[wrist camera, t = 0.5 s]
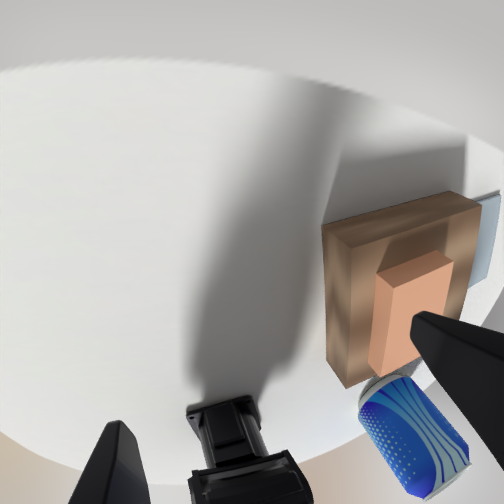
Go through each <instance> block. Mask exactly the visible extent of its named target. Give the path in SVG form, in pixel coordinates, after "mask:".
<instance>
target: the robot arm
mask: <svg viewBox="0 0 504 504" xmlns="http://www.w3.org/2000/svg"><path fill="white" fill-rule="evenodd" d="M410 339H411V341H412V343H413V344H414V346H415V348H416V349H417V351H418V352H419V354H420V355H421V357H422V358H423V360H424V362H425V363H426V365H427V366H428V368H429V370H430V371H431V373H432V374H433V376H434V377H435V378H436V380H437V381H438V382H439V383H440V385H441V386H442V387H443V388H444V390H445V391H446V392H447V394H448V395H449V396H450V397H451V399H452V400H453V401H454V403H455V404H456V405H457V406H458V408H459V409H460V411H461V412H462V413H463V415H464V416H465V417H466V418H467V420H468V421H469V422H470V424H471V425H472V427H473V428H474V429H475V431H476V432H477V433H478V435H479V436H480V438H481V439H482V440H483V442H484V443H485V444H486V446H487V447H488V449H489V450H490V452H491V453H492V454H493V455H494V457H495V459H496V460H497V462H498V463H499V465H500V466H501V468H502V469H503V471H504V334H503V333H500V332H497V331H493V330H490V329H487V328H483V327H480V326H476V325H473V324H469V323H466V322H462V321H459V320H456V319H452V318H449V317H445V316H442V315H439V314H435V313H432V312H428V311H421V312H419V313H417V314H415V315H414V316H413V317H412V322H411V329H410ZM186 418H187V420H188V422H189V424H190V425H191V427H192V429H193V430H194V432H195V434H196V435H197V437H198V438H199V440H200V441H201V445H202V449H203V453H204V457H205V461H206V465H207V468H208V469H204V470H192V475H193V476H192V477H191V478H189V479H188V485H189V489H190V494H191V501H192V504H314V500H313V495H312V492H311V488H310V486H309V484H308V481H307V479H306V478H305V476H304V475H303V473H302V471H301V470H300V468H299V467H298V465H297V464H296V462H295V461H294V459H293V457H292V456H291V454H290V453H289V451H288V450H283V451H281V452H279V453H276V454H272V455H269V454H268V451H267V449H266V446H265V444H264V441H263V439H262V436H261V434H260V430H261V425H260V422H259V419H258V415H257V412H256V408H255V405H254V401H253V399H252V397H251V396H244V397H241V398H238V399H234V400H231V401H228V402H224V403H221V404H217V405H214V406H210V407H206V408H203V409H199V410H195V411H191V412H188V413H187V414H186ZM68 504H151V502H150V497H149V490H148V485H147V481H146V477H145V473H144V469H143V465H142V461H141V457H140V453H139V449H138V444H137V440H136V438H135V436H134V434H133V433H132V432H131V431H130V430H129V428H128V427H127V426H126V425H125V424H124V422H123V421H121V420H116V421H111V422H108V423H107V424H106V426H105V428H104V430H103V432H102V434H101V436H100V438H99V440H98V442H97V444H96V446H95V448H94V450H93V452H92V454H91V456H90V458H89V460H88V462H87V464H86V466H85V469H84V471H83V473H82V475H81V477H80V479H79V481H78V484H77V485H76V488H75V490H74V492H73V494H72V496H71V498H70V500H69V503H68Z"/></svg>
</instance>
